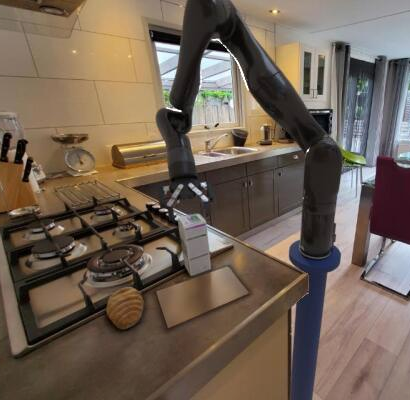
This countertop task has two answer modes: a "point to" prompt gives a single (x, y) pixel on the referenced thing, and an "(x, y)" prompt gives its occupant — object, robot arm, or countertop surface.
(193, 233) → the syrup box
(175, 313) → the flat rectangular metal plate
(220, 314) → the countertop surface
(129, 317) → the pastry
